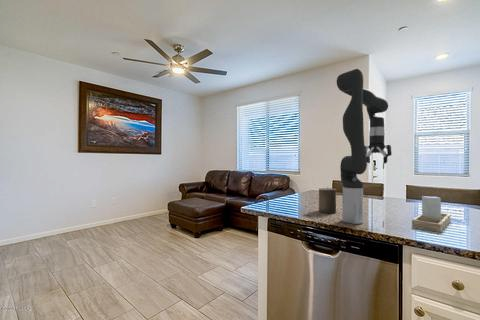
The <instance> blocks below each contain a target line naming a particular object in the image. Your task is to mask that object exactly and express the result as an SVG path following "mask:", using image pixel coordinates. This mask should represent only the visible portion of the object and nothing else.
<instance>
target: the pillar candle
mask: <svg viewBox="0 0 480 320" xmlns="http://www.w3.org/2000/svg"><path fill="white" fill-rule="evenodd" d="M318 212H319V213H323V214H336V213H337V189H336V188H329V187H328V186H327V187H325V188H324V187H323V188H322V187H321V188H318Z"/></svg>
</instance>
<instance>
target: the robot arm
mask: <svg viewBox="0 0 480 320" xmlns="http://www.w3.org/2000/svg"><path fill="white" fill-rule="evenodd" d="M336 86H337V88H338V90H339V91H340V92H343V93H344V94H345V95H348V96H350V97H351V98H350V101H349V103H348V105H347V107H346V109H345V111H344V113H343V115H342V130H343V133H344V135H345V137H346V139H347V140H348V143H349V145H350V151H351V155H346V156H344V157H343V158H341V161H340V166H339V167H340V168H339V169H340V181H341V183H342V205H341V206H342V209H341V210H342V213H341V214H342V219H341V220H342V221H341V222H344V223H347V224H354V225H357V224H358V225H359V224H363V223H364V182H363V181H361V180H360V179H359V178H358V175H362V174H364V173H365V172H366V170H367V167H368V164H370V163H371V156H372V155H373V154H376V153H377V154H381V155H383V159H382V160H383V164H385V165H386V164H387V163H388V157H389V156H392V146H391V144H387V145H385V135H386V134H385V118H384V117H382V116H376V114H380V113H385V112H386V111H387V110H388V109H389V104H388V101H387V100H386V99H384V98H382V97H380V96H377V95H376V94H374V93H373V92H372V91H371V90H370V89H366V88H364V75H363V72H362V70H361V69H360V68H355V69H352V70H349V71H346V72H343V73H340V74H339V75H338V76H337V78H336ZM364 106H365V107H366V112H367V115H368V119H369V133H368V135H369V136H368V142H369V143H368V144H369V145H365V135H364V134H365V132H364V125H365V124H364V110H363V109H364V108H363V107H364ZM385 149H386V150H387V151H385ZM368 150H369V151H368Z"/></svg>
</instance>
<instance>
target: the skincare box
mask: <svg viewBox="0 0 480 320" xmlns="http://www.w3.org/2000/svg"><path fill="white" fill-rule="evenodd" d="M441 201H442V199H441V197H438V196H428V195H427V196H425V195H422V196H421V213H422V217H425V218H431V219H438V220H441V213H442V202H441Z"/></svg>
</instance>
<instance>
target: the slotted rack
mask: <svg viewBox="0 0 480 320" xmlns="http://www.w3.org/2000/svg"><path fill="white" fill-rule="evenodd" d="M450 222H451V214H449V213H442V212H441V220H438V219H431V218H425V217H422V212H421V213H420V214H419V215H417V216H416V217H414V218H412V219H411V227H412V228H413V229H419V230H425V231H430V232H431V231H432V232H436V233H442V232H443V230H444V229H445V228H447V226H448V225H449V224H450Z"/></svg>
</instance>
